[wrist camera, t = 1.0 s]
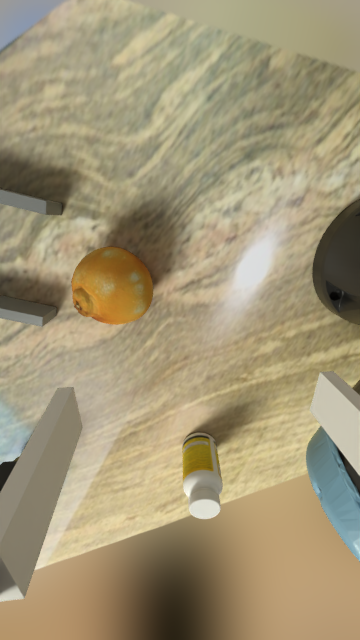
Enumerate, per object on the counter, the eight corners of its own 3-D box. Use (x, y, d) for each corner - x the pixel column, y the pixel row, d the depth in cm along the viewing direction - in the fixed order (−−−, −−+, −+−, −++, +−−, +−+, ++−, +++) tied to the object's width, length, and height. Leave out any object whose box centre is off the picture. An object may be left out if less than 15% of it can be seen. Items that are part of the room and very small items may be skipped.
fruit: (96, 313, 32) (71, 341, 24) (80, 247, 29) (46, 257, 21) (160, 306, 32) (154, 333, 24) (150, 239, 28) (140, 246, 21)
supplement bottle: (175, 444, 40) (174, 509, 31) (199, 425, 39) (206, 488, 30) (198, 461, 42) (204, 528, 32) (222, 443, 40) (235, 509, 31)
